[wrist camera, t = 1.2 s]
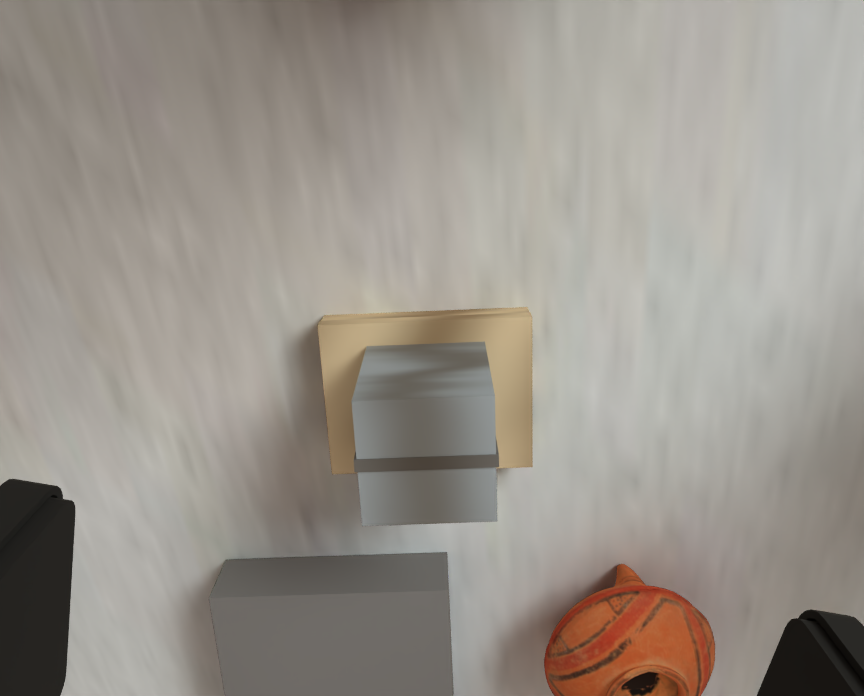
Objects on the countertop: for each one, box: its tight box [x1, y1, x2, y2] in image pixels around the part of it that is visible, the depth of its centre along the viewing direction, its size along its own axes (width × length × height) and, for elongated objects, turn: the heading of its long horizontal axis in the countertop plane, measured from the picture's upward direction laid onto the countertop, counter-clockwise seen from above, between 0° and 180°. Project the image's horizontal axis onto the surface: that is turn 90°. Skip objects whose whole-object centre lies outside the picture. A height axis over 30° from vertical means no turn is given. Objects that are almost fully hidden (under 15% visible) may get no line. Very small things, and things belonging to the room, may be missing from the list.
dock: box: [209, 552, 453, 696], centre depth 38 cm, size 11×11×3 cm
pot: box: [544, 564, 715, 696], centre depth 36 cm, size 8×8×7 cm
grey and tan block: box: [318, 307, 532, 526], centre depth 31 cm, size 9×7×8 cm
